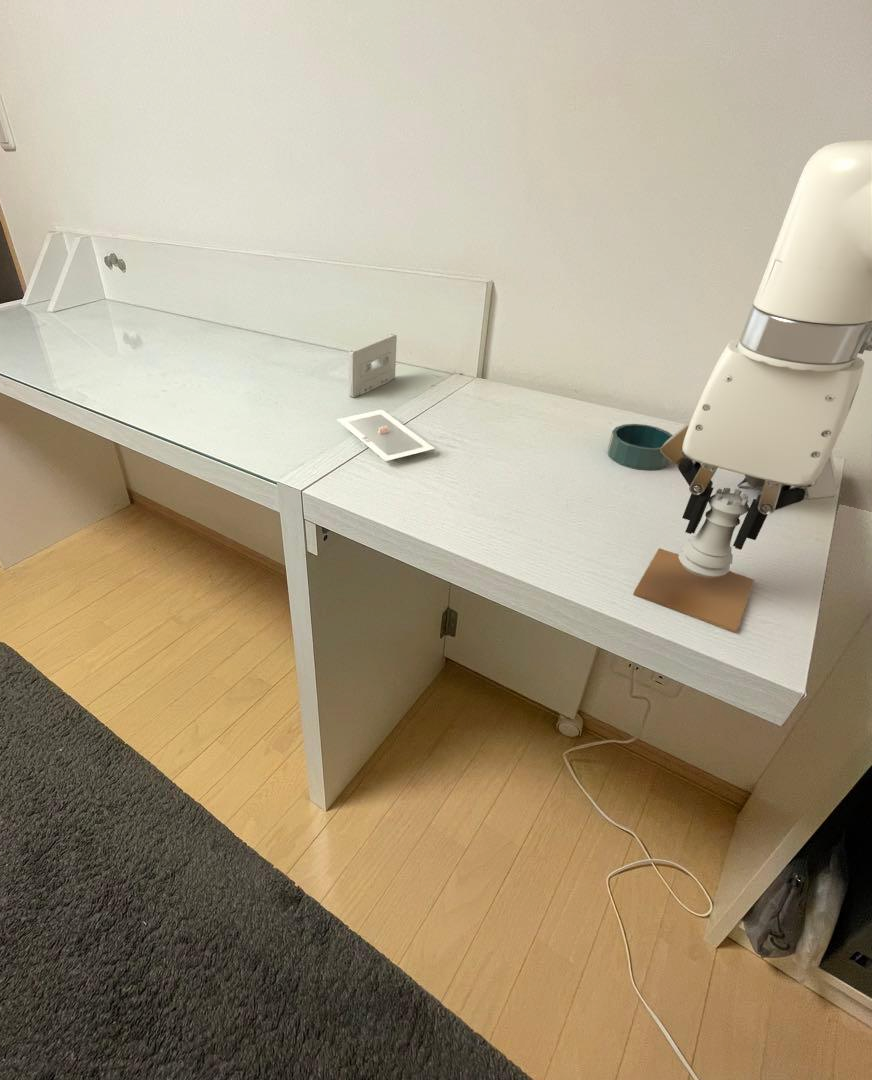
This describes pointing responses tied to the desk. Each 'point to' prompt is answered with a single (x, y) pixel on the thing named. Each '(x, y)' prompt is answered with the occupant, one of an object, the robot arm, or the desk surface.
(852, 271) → the robot arm
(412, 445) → the touchpad
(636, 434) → the teal round bowl
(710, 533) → the rook chess piece
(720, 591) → the coaster
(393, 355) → the cassette
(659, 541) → the desk surface
